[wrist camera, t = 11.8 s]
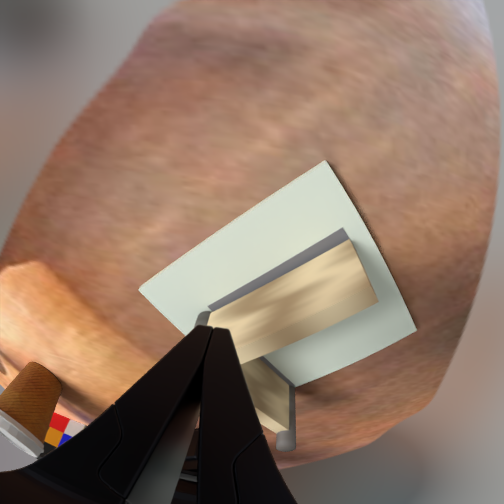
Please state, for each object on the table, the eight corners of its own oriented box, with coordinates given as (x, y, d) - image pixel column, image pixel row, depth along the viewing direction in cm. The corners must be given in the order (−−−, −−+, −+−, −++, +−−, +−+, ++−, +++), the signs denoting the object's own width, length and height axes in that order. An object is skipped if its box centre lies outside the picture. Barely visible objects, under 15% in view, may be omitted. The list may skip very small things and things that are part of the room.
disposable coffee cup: (48, 357, 29) (6, 428, 19) (82, 402, 34) (53, 467, 23) (10, 349, 31) (-28, 406, 20) (42, 391, 35) (13, 446, 24)
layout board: (414, 325, 22) (417, 330, 21) (261, 394, 27) (261, 399, 27) (325, 160, 17) (327, 162, 16) (141, 285, 22) (138, 290, 21)
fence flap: (207, 331, 23) (190, 396, 17) (192, 316, 22) (170, 380, 17) (358, 255, 18) (385, 318, 13) (346, 233, 18) (373, 293, 12)
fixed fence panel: (297, 385, 26) (299, 448, 20) (283, 390, 27) (282, 452, 21) (231, 321, 23) (216, 395, 17) (215, 329, 23) (198, 400, 17)
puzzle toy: (85, 424, 38) (66, 469, 30) (103, 447, 43) (89, 487, 35) (43, 407, 39) (23, 447, 30) (64, 432, 44) (48, 468, 35)
